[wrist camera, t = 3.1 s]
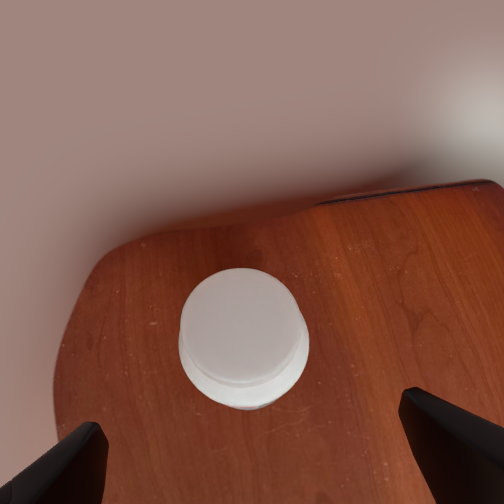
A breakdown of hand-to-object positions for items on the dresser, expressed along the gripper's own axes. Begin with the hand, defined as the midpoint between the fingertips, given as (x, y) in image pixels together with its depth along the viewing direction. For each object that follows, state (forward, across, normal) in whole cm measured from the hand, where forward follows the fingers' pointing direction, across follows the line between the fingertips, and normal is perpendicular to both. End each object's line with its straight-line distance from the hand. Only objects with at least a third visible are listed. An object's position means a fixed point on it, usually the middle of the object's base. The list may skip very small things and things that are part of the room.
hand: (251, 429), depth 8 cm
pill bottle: (+10, 0, +5) cm, 11 cm away
